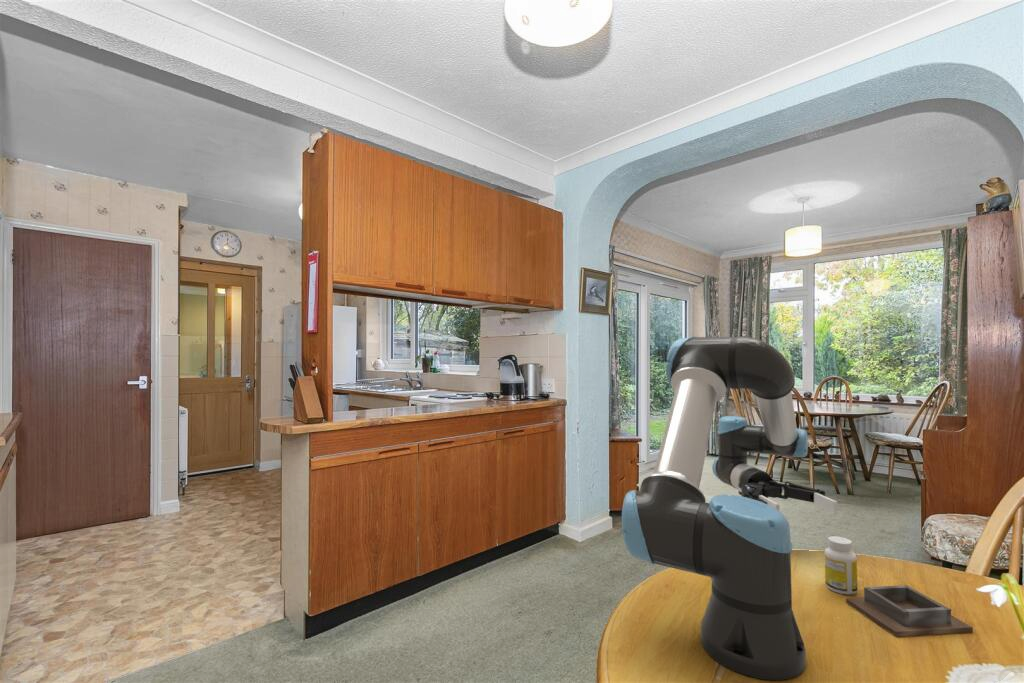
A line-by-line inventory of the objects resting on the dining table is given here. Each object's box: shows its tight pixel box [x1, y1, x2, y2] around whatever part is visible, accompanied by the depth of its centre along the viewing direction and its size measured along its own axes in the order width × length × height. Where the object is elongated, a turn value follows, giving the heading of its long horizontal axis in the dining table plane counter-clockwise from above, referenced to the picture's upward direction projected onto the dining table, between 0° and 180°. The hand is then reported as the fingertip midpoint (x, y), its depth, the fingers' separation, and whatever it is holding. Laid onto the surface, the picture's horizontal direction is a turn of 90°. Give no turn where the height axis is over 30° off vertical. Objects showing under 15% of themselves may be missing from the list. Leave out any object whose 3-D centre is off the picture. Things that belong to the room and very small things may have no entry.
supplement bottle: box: [824, 535, 858, 596], centre depth 98 cm, size 5×5×10 cm
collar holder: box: [845, 584, 974, 638], centre depth 88 cm, size 14×11×3 cm
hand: (807, 509), depth 108 cm, fingers open, 13 cm apart
